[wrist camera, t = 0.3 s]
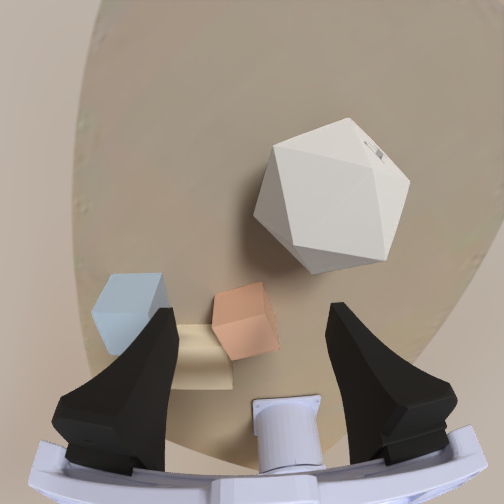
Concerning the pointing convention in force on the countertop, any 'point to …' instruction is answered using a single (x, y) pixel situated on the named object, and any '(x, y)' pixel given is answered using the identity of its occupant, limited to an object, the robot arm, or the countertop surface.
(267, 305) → the terracotta block
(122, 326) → the blue block
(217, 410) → the countertop surface
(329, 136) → the die
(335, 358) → the robot arm
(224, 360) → the beech base
